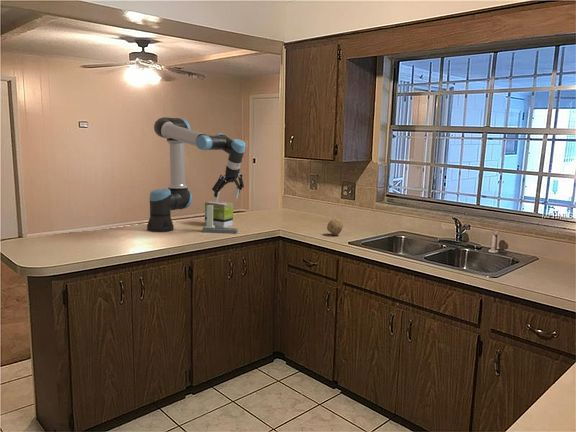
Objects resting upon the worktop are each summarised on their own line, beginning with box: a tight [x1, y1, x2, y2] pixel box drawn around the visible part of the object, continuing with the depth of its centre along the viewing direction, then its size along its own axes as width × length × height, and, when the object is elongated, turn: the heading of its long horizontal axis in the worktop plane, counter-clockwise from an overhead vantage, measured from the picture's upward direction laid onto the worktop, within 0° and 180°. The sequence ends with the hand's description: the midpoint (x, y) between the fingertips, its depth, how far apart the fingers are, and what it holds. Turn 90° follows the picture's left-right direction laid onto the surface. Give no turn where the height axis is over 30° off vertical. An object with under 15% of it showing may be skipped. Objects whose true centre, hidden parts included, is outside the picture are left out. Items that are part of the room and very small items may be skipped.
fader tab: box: [204, 205, 216, 228], centre depth 273 cm, size 5×4×13 cm
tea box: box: [204, 200, 234, 228], centre depth 293 cm, size 15×10×15 cm, turn 62°
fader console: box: [201, 226, 239, 235], centre depth 274 cm, size 20×6×2 cm, turn 89°
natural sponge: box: [326, 218, 344, 236], centre depth 276 cm, size 9×9×10 cm
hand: (225, 199), depth 267 cm, fingers open, 13 cm apart
